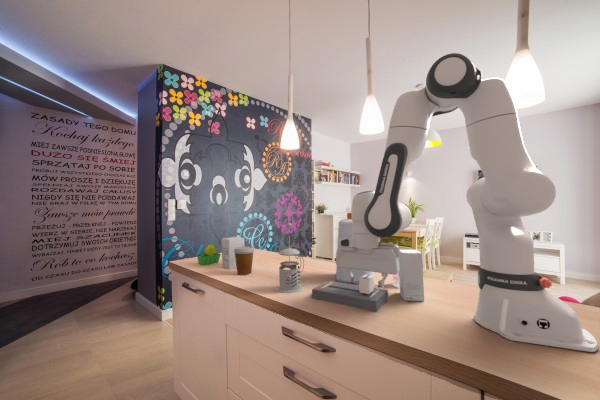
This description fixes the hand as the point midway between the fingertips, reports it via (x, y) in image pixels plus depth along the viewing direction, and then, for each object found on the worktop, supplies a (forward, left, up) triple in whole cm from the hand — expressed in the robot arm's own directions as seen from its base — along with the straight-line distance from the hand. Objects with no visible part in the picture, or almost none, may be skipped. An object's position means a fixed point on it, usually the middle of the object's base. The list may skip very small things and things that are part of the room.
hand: (366, 284), depth 85 cm
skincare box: (-11, -12, -6) cm, 17 cm away
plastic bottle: (+13, -23, -6) cm, 27 cm away
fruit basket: (+93, -11, -6) cm, 94 cm away
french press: (+29, +1, -6) cm, 30 cm away
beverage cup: (-5, -23, -6) cm, 24 cm away
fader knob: (0, 0, -2) cm, 2 cm away
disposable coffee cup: (+61, -6, -6) cm, 62 cm away
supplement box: (+76, -13, -6) cm, 77 cm away
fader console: (+6, 0, -6) cm, 8 cm away
